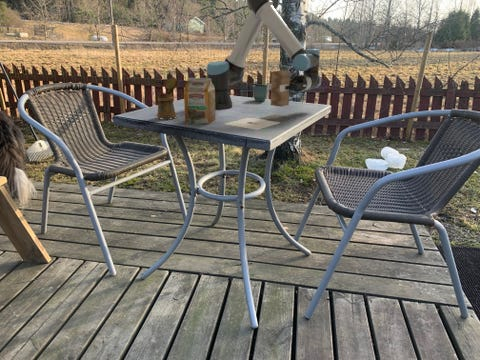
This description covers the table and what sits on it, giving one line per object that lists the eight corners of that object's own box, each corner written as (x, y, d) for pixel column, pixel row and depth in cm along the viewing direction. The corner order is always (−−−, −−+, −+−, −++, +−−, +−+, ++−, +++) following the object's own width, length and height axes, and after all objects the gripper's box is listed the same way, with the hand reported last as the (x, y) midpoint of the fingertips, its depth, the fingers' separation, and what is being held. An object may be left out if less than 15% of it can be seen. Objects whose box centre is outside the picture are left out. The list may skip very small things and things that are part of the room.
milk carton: (215, 120, 170) (214, 77, 164) (208, 125, 161) (207, 79, 154) (193, 119, 172) (191, 76, 166) (185, 123, 163) (183, 79, 156)
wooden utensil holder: (183, 115, 181) (182, 76, 175) (170, 120, 169) (168, 79, 163) (167, 114, 184) (165, 76, 177) (153, 119, 172) (150, 79, 165)
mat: (260, 118, 174) (260, 118, 174) (274, 114, 183) (274, 114, 183) (281, 122, 167) (281, 121, 167) (295, 118, 176) (295, 117, 176)
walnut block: (270, 105, 172) (271, 71, 167) (277, 103, 176) (279, 70, 171) (281, 106, 168) (282, 72, 163) (288, 104, 173) (290, 71, 167)
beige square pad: (223, 124, 162) (223, 123, 162) (248, 117, 175) (248, 117, 175) (256, 130, 152) (256, 129, 152) (281, 123, 165) (281, 122, 165)
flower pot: (266, 102, 219) (267, 86, 215) (251, 101, 220) (252, 86, 217) (268, 100, 227) (269, 85, 223) (254, 99, 228) (254, 84, 225)
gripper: (317, 92, 178) (292, 98, 161) (283, 89, 189) (256, 94, 173) (318, 76, 176) (292, 80, 159) (284, 74, 187) (257, 77, 170)
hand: (274, 87), depth 166 cm, fingers closed on walnut block, 6 cm apart
